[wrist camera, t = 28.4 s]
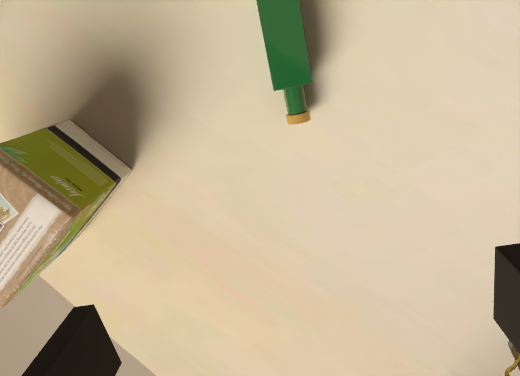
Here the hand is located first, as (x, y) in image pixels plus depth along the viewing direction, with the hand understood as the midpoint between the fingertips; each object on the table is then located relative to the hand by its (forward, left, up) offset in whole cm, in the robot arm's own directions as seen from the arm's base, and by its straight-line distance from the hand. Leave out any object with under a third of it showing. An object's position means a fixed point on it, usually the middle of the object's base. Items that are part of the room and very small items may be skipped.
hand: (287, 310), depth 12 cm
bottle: (-6, +11, -34) cm, 36 cm away
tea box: (-24, -18, -34) cm, 45 cm away
